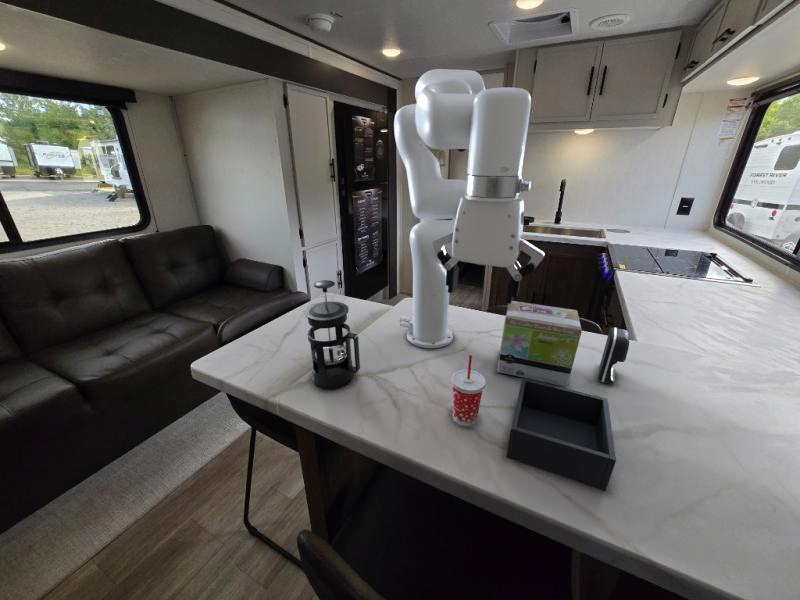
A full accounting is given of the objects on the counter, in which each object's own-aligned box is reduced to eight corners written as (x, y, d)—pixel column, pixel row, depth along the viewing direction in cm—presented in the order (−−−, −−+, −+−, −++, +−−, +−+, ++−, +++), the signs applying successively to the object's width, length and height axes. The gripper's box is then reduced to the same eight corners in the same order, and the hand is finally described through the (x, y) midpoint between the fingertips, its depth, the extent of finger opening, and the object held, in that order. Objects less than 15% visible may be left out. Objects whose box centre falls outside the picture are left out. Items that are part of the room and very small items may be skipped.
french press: (301, 385, 75) (287, 287, 65) (322, 361, 83) (312, 272, 73) (350, 395, 71) (342, 294, 62) (367, 370, 80) (362, 277, 70)
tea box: (496, 374, 78) (504, 316, 72) (500, 351, 86) (507, 298, 80) (568, 388, 73) (583, 328, 67) (564, 363, 82) (577, 307, 76)
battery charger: (617, 388, 73) (632, 342, 69) (597, 382, 75) (610, 337, 70) (617, 371, 79) (631, 328, 74) (599, 366, 80) (611, 323, 76)
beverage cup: (448, 405, 68) (453, 345, 63) (479, 408, 68) (486, 348, 62) (448, 427, 63) (453, 364, 57) (482, 431, 62) (490, 367, 56)
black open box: (505, 457, 57) (510, 428, 54) (517, 403, 69) (522, 377, 66) (605, 491, 51) (616, 460, 49) (599, 425, 63) (607, 398, 61)
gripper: (557, 188, 49) (537, 296, 56) (444, 182, 56) (439, 279, 63) (554, 195, 43) (532, 315, 50) (427, 187, 50) (423, 294, 57)
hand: (480, 295), depth 57 cm, fingers open, 9 cm apart
